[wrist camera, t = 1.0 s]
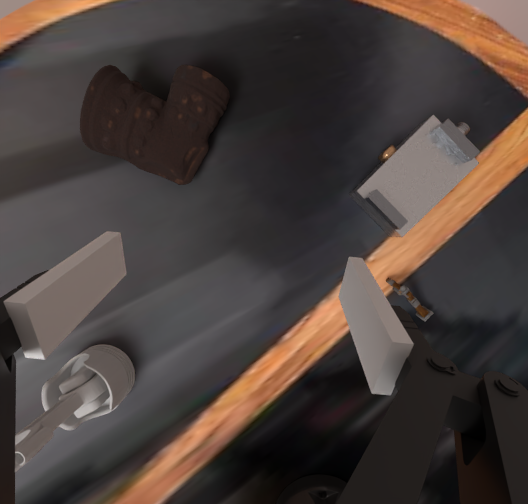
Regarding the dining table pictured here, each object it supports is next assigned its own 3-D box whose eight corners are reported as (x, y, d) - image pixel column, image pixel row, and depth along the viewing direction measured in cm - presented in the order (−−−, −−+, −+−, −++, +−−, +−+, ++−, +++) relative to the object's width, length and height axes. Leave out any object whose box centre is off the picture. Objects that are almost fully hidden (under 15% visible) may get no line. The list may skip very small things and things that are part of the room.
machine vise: (474, 154, 41) (505, 143, 35) (389, 236, 42) (407, 237, 36) (427, 106, 40) (452, 86, 35) (343, 190, 42) (355, 183, 36)
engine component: (146, 387, 45) (115, 333, 44) (42, 519, 24) (-17, 422, 24) (88, 415, 45) (58, 363, 45) (-60, 567, 25) (-120, 474, 24)
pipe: (233, 77, 34) (107, 12, 31) (188, 192, 36) (68, 141, 33) (232, 103, 43) (136, 54, 40) (197, 193, 45) (104, 153, 42)
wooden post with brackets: (388, 271, 42) (410, 285, 38) (411, 298, 45) (434, 313, 41) (379, 280, 42) (401, 294, 38) (404, 306, 45) (426, 322, 41)
